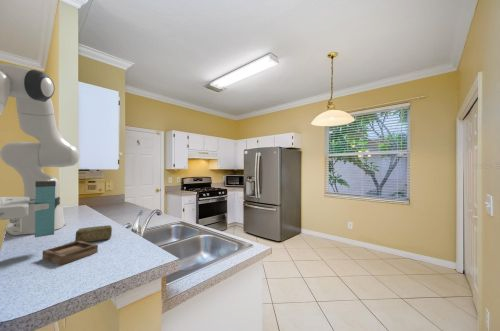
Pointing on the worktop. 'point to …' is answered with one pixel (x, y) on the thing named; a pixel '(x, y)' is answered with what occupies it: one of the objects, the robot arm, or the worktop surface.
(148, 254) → the worktop surface
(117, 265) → the worktop surface
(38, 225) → the teal upright block
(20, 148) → the robot arm
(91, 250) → the stand
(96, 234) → the stone block
